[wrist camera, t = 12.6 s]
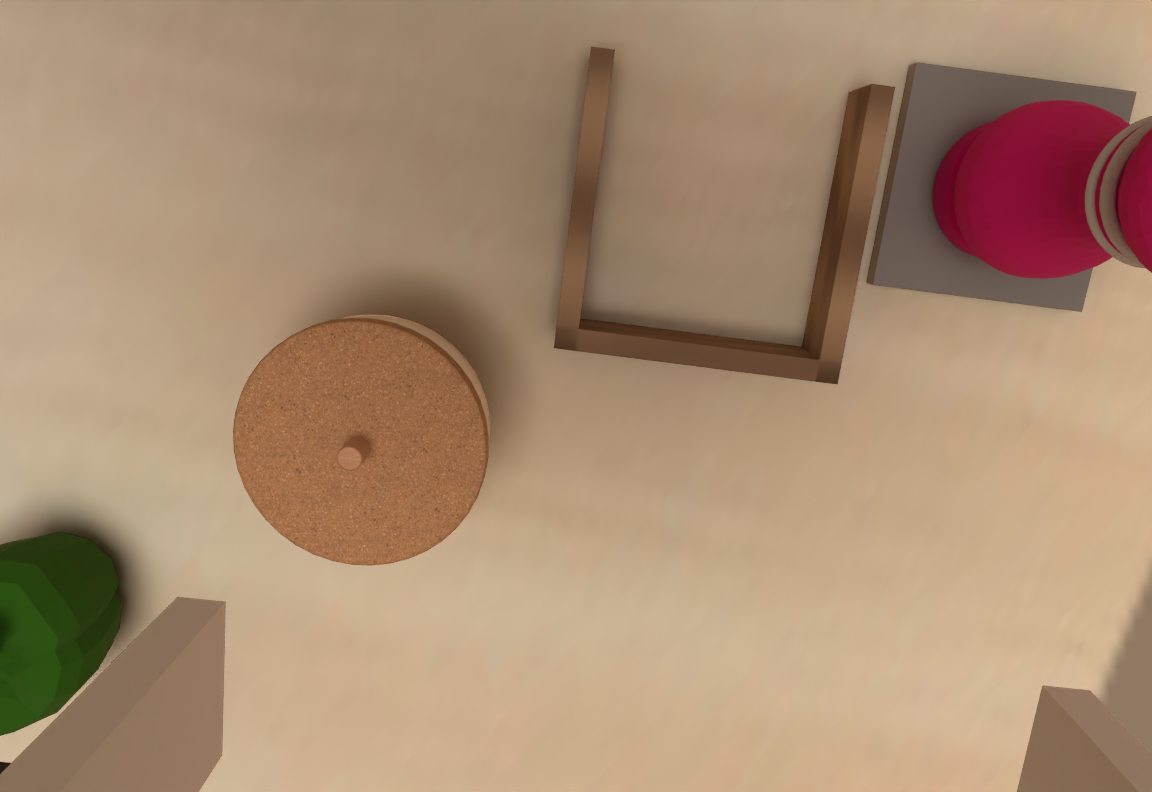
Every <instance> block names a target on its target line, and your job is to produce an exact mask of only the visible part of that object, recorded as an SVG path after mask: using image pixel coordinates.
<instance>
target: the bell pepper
mask: <svg viewBox="0 0 1152 792" xmlns="http://www.w3.org/2000/svg"><path fill="white" fill-rule="evenodd" d="M118 585H119V583H118V579H117V575H116V572H115V568H114V565H113V561H112V559H111V558H110V557H109V556H108V555H106V554H105V553H104V552H103V551H102V550H101V549H100V548H98V547H97V546H96V545H95V544H94V543H93V542H91V541H90V540H88V539H85V538H81V537H78V536H74V535H71V534H67V533H64V532H59V533H54V534H49V535H44V536H39V537H34V538H29V539H24V540H19V541H14V542H10V543H6V544H2V545H0V736H1V735H4V734H8V733H12V732H15V731H17V730H19V729H22V728H24V727H26V726H28V725H30V724H33V723H35V722H37V721H39V720H41V719H44V718H46V717H48V716H50V715H52V714H55V713H57V712H58V711H59V710H60V709H61V708H62V707H63V706H64V705H65V704H66V703H67V702H68V701H69V699H70V698H71V697H72V696H73V695H74V694H75V693H76V692H77V691H78V690H79V689H80V688H81V687H82V686H83V685H84V684H85V683H86V682H87V680H88V679H89V678H90V677H91V676H92V675H93V674H94V673H95V672H96V671H97V670H98V668H99V667H100V665H101V663H102V661H103V659H104V658H105V656H106V654H107V652H108V651H109V649H110V647H111V645H112V643H113V641H114V639H115V636H116V634H117V632H118V630H119V628H120V617H121V600H120V597H119V596H118V595H117V593H116V589H117V587H118Z"/></svg>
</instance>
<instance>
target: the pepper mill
mask: <svg viewBox="0 0 1152 792" xmlns="http://www.w3.org/2000/svg"><path fill="white" fill-rule="evenodd" d="M933 207H934V213H935V216H936V219H937V222H938V224H939V226H940V228H941V230H942V231H943V233H944V234H945V236H946V237H947V238H948V239H949V241H950V242H951V243H953V244H954V245H955V246H956V247H957V248H959V249H960V250H962V251H964V252H965V253H967V254H969V255H972V256H975V257H978V258H980V259H981V260H982V261H984V262H985V263H987V264H988V265H990V266H992V267H993V268H995V269H997V270H999V271H1001V272H1004V273H1006V274H1009V275H1013V276H1017V277H1022V278H1040V279H1045V278H1060V277H1065V276H1069V275H1074V274H1076V273H1079V272H1082V271H1084V270H1087V269H1090V268H1093V267H1095V266H1098V265H1100V264H1101V263H1103V262H1105V261H1107V260H1109V259H1110V258H1112V257H1114V258H1115V259H1117V260H1119V261H1121V262H1123V263H1125V264H1128V265H1131V266H1134V267H1140V268H1147V269H1148V270H1149V271H1150V272H1152V116H1150V117H1147V118H1144V119H1142V120H1139V121H1137V122H1135V123H1133V124H1131V125H1130V124H1128V123H1127V122H1126V121H1124V120H1123V119H1122V118H1121V117H1119V116H1117V115H1115V114H1113V113H1111V112H1109V111H1107V110H1104V109H1102V108H1100V107H1097V106H1094V105H1091V104H1088V103H1084V102H1077V101H1070V100H1050V101H1039V102H1034V103H1030V104H1027V105H1023V106H1021V107H1018V108H1016V109H1014V110H1012V111H1010V112H1007V113H1006V114H1004V115H1002V116H1000V117H999V118H998V119H996V120H995V121H994V122H990V123H987V124H984V125H981V126H979V127H977V128H975V129H973V130H971V131H970V132H968V133H967V134H965V135H964V136H962V137H961V138H960V139H959V140H958V141H957V142H956V143H955V144H954V145H953V146H952V147H951V148H950V150H949V151H948V152H947V154H946V155H945V157H944V158H943V160H942V162H941V164H940V166H939V168H938V171H937V174H936V177H935V181H934V186H933Z"/></svg>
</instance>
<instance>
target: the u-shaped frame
mask: <svg viewBox="0 0 1152 792" xmlns="http://www.w3.org/2000/svg"><path fill="white" fill-rule="evenodd" d="M614 52H615V50H612V49H605V48H597V47H591V53H590V61H589V69H588V77H587V85H586V93H585V101H584V109H583V118H582V126H581V134H580V142H579V150H578V158H577V166H576V174H575V182H574V190H573V198H572V206H571V214H570V222H569V230H568V239H567V247H566V255H565V263H564V271H563V279H562V287H561V295H560V303H559V311H558V319H557V327H556V335H555V343H554V348H558V349H566V350H574V351H581V352H589V353H597V354H605V355H613V356H620V357H628V358H636V359H644V360H652V361H659V362H667V363H675V364H683V365H691V366H698V367H706V368H714V369H722V370H729V371H737V372H745V373H753V374H761V375H768V376H776V377H784V378H792V379H800V380H807V381H815V382H823V383H831V384H838V378H839V373H840V368H841V363H842V358H843V353H844V347H845V342H846V337H847V332H848V327H849V322H850V317H851V311H852V306H853V301H854V296H855V291H856V286H857V280H858V275H859V270H860V265H861V260H862V255H863V250H864V244H865V239H866V234H867V229H868V224H869V219H870V214H871V208H872V203H873V198H874V193H875V188H876V183H877V177H878V172H879V167H880V162H881V157H882V152H883V147H884V141H885V136H886V131H887V126H888V121H889V116H890V111H891V105H892V100H893V95H894V90H895V87H890V86H883V85H875V84H870V85H868V86H865V87H862V88H860V89H857V90H854V91H851V92H849V96H848V101H847V107H846V112H845V118H844V123H843V129H842V134H841V139H840V145H839V150H838V156H837V161H836V167H835V172H834V178H833V183H832V188H831V194H830V199H829V205H828V210H827V216H826V221H825V226H824V232H823V237H822V243H821V248H820V254H819V259H818V264H817V270H816V275H815V281H814V286H813V292H812V297H811V303H810V308H809V313H808V319H807V324H806V330H805V335H804V341H803V346H802V347H797V346H790V345H782V344H774V343H766V342H759V341H751V340H743V339H735V338H727V337H720V336H712V335H704V334H696V333H689V332H681V331H673V330H665V329H658V328H650V327H642V326H634V325H626V324H619V323H611V322H603V321H595V320H588V319H580V315H581V307H582V299H583V291H584V284H585V276H586V268H587V260H588V253H589V245H590V237H591V230H592V222H593V214H594V206H595V199H596V191H597V183H598V175H599V168H600V160H601V152H602V145H603V137H604V129H605V121H606V114H607V106H608V98H609V90H610V83H611V75H612V67H613V59H614Z"/></svg>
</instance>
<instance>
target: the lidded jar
mask: <svg viewBox="0 0 1152 792" xmlns="http://www.w3.org/2000/svg"><path fill="white" fill-rule="evenodd" d="M233 439H234V453H235V458H236V463H237V468H238V471H239V474H240V476H241V479H242V482H243V484H244V487H245V489H246V491H247V493H248V494H249V496H250V498H251V500H252V502H253V503H254V505H255V506H256V508H257V509H258V510H259V511H260V513H261V514H262V515H263V517H264V518H265V519H266V520H267V521H268V522H269V523H270V524H271V525H272V526H273V527H274V528H275V529H276V530H277V531H278V532H279V533H280V534H281V535H283V536H284V537H286V538H287V539H288V540H290V541H291V542H293V543H294V544H295V545H297V546H299V547H301V548H303V549H305V550H306V551H308V552H310V553H312V554H314V555H317V556H320V557H323V558H326V559H329V560H332V561H336V562H341V563H346V564H351V565H380V564H390V563H394V562H398V561H402V560H405V559H409V558H411V557H414V556H416V555H418V554H421V553H423V552H425V551H427V550H429V549H430V548H432V547H433V546H435V545H436V544H438V543H440V542H441V541H443V540H444V539H445V538H446V537H447V536H448V535H449V534H450V533H452V532H453V531H454V530H455V529H456V528H457V527H458V525H459V524H460V523H461V522H462V520H463V519H464V518H465V517H466V516H467V514H468V513H469V511H470V509H471V507H472V506H473V504H474V502H475V500H476V499H477V496H478V494H479V491H480V488H481V486H482V483H483V480H484V477H485V473H486V467H487V462H488V453H489V446H490V418H489V411H488V404H487V400H486V397H485V394H484V391H483V387H482V385H481V383H480V381H479V379H478V377H477V375H476V373H475V371H474V370H473V368H472V367H471V366H470V364H469V363H468V361H467V360H466V358H465V357H464V356H463V355H462V354H461V353H460V352H459V351H458V350H457V349H456V348H455V347H454V346H453V345H452V344H451V343H450V342H449V341H447V340H446V339H445V338H443V337H442V336H441V335H439V334H438V333H436V332H434V331H433V330H431V329H429V328H427V327H425V326H424V325H421V324H419V323H416V322H413V321H410V320H408V319H405V318H400V317H395V316H390V315H372V314H365V315H356V316H348V317H343V318H340V319H336V320H331V321H327V322H324V323H320V324H317V325H313V326H311V327H309V328H307V329H304V330H302V331H300V332H298V333H296V334H294V335H292V336H290V337H289V338H287V339H286V340H284V341H283V342H282V343H280V344H279V345H277V346H276V347H274V348H273V349H272V350H271V351H270V352H269V353H268V354H267V355H266V356H265V357H264V358H263V359H262V360H261V361H260V363H259V364H258V365H257V367H256V368H255V369H254V371H253V372H252V374H251V375H250V376H249V378H248V380H247V382H246V384H245V387H244V389H243V391H242V393H241V395H240V399H239V402H238V405H237V409H236V412H235V420H234V428H233Z"/></svg>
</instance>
